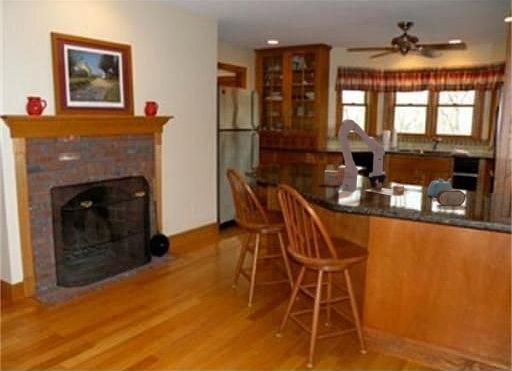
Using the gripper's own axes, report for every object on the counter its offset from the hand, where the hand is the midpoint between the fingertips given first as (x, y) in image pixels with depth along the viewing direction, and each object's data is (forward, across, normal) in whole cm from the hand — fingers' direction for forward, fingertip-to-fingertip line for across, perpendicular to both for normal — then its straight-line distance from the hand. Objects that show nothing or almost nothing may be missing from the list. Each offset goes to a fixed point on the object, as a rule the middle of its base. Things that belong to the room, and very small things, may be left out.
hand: (376, 187), depth 275 cm
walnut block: (+2, 0, 0) cm, 2 cm away
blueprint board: (+2, 0, -8) cm, 8 cm away
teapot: (+3, +14, -34) cm, 37 cm away
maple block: (+2, 0, -16) cm, 16 cm away
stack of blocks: (+2, -2, +28) cm, 28 cm away
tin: (+3, -3, -50) cm, 50 cm away
